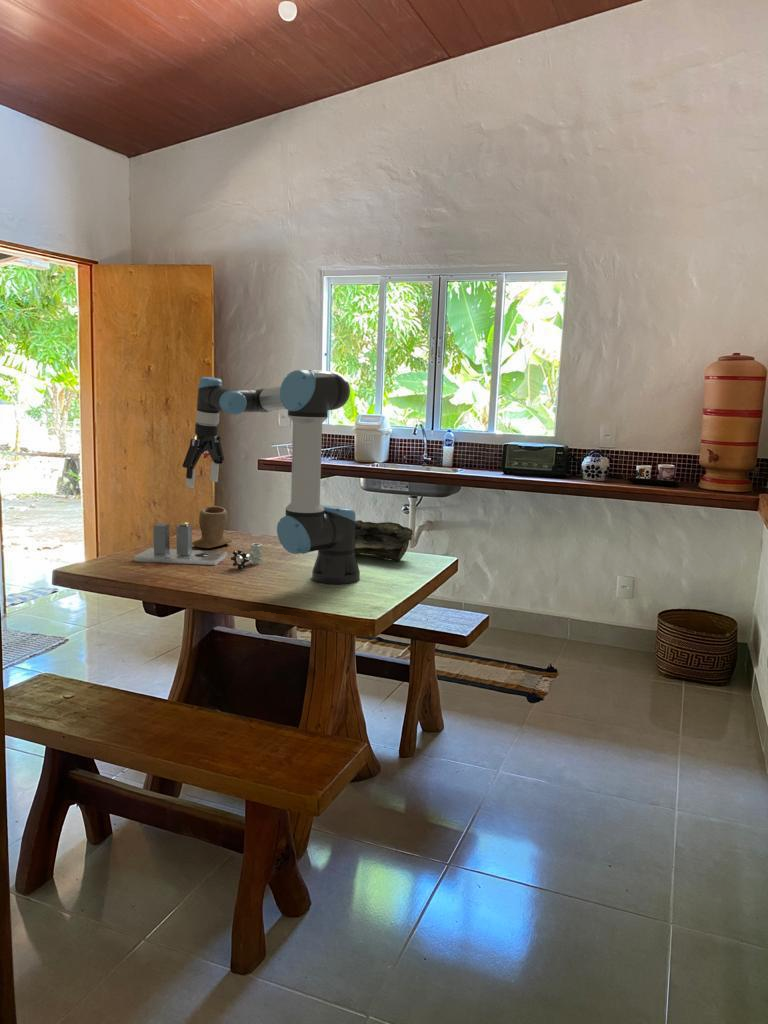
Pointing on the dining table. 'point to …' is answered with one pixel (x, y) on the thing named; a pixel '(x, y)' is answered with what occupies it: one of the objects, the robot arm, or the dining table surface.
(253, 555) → the valve
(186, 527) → the block
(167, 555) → the grey base with knobs
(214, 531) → the stone cup
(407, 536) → the rock
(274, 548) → the dining table surface
